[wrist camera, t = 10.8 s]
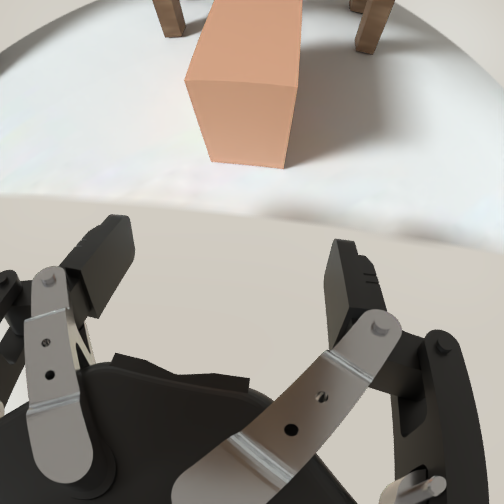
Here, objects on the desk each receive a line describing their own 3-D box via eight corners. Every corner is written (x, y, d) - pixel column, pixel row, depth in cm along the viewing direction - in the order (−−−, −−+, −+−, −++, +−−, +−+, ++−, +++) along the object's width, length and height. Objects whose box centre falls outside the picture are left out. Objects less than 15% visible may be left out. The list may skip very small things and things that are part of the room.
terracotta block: (211, 161, 19) (184, 80, 11) (233, 60, 20) (224, -22, 12) (283, 168, 18) (297, 87, 11) (292, 65, 20) (303, -18, 12)
